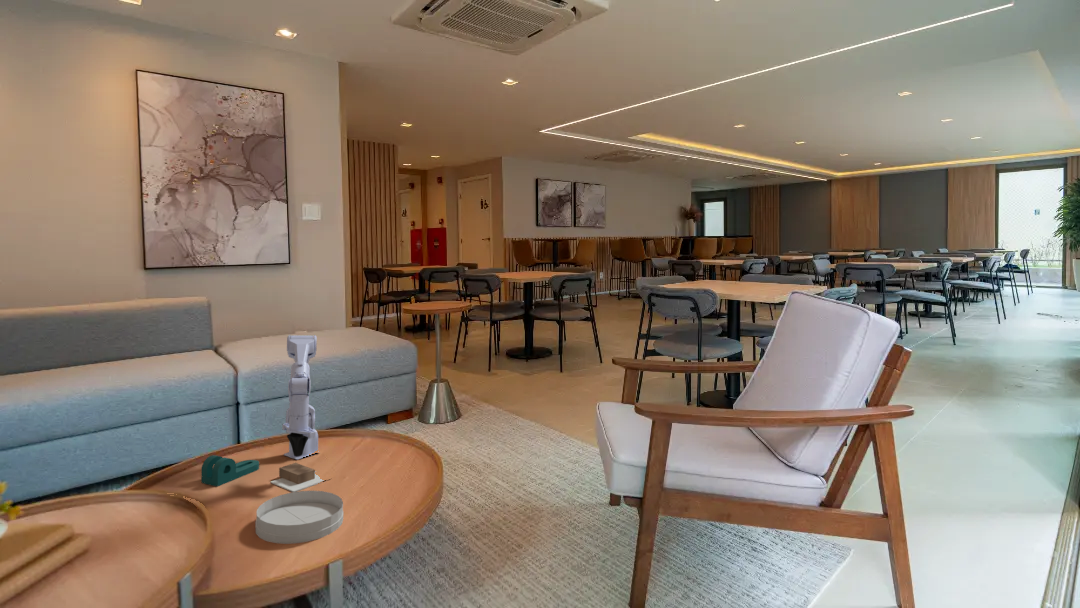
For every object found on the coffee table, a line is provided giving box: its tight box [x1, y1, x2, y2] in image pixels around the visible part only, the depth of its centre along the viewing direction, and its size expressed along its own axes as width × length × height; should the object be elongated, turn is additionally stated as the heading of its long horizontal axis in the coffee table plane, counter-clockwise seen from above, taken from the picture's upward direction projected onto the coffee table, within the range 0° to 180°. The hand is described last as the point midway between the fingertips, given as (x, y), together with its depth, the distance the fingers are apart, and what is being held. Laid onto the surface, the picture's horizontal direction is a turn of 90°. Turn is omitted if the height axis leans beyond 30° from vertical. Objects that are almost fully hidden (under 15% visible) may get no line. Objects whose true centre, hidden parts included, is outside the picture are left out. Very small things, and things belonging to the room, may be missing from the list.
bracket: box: [200, 454, 260, 487], centre depth 183 cm, size 18×7×8 cm, turn 161°
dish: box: [255, 490, 345, 545], centre depth 153 cm, size 22×22×5 cm
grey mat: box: [270, 474, 324, 493], centre depth 181 cm, size 14×12×1 cm
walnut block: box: [278, 462, 316, 484], centre depth 182 cm, size 6×3×10 cm
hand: (298, 455), depth 182 cm, fingers closed
